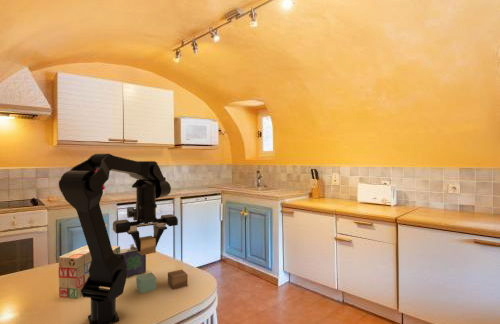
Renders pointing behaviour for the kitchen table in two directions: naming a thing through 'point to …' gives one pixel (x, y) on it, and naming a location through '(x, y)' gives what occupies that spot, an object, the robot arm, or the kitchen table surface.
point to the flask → (134, 261)
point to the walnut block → (177, 279)
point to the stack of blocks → (75, 271)
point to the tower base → (146, 282)
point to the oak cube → (147, 245)
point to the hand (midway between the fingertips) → (146, 250)
